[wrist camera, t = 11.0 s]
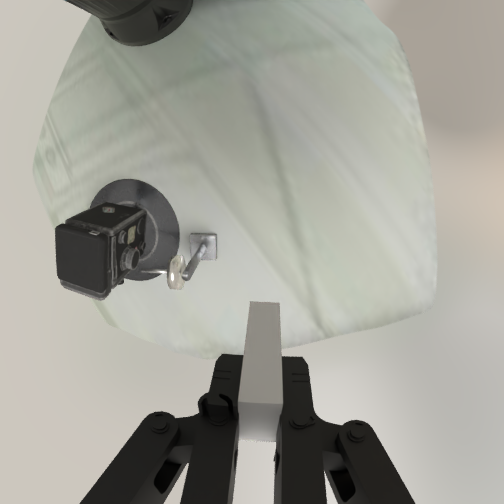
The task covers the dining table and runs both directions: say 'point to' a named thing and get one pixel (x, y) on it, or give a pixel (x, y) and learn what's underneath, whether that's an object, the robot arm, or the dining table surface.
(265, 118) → the dining table surface
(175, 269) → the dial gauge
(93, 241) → the camera
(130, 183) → the disc
